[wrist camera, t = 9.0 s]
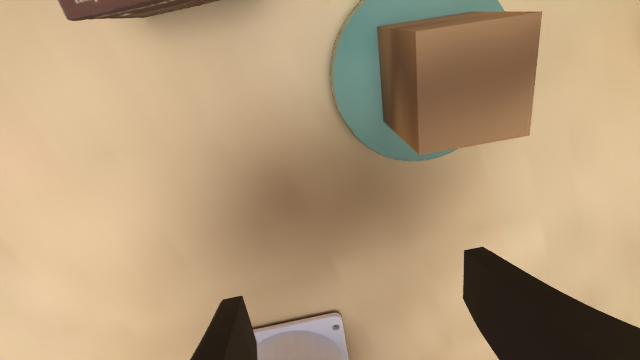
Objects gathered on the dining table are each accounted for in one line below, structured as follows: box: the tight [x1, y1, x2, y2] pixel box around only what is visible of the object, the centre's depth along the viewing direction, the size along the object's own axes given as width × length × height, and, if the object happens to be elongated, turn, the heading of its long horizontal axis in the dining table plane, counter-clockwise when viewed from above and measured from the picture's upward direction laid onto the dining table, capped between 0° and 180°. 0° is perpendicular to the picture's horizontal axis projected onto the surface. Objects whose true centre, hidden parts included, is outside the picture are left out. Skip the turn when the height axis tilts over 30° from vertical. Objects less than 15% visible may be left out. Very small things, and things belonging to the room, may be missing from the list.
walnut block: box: [377, 12, 542, 155], centre depth 16 cm, size 4×4×5 cm
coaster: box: [330, 0, 505, 161], centre depth 19 cm, size 9×9×2 cm
